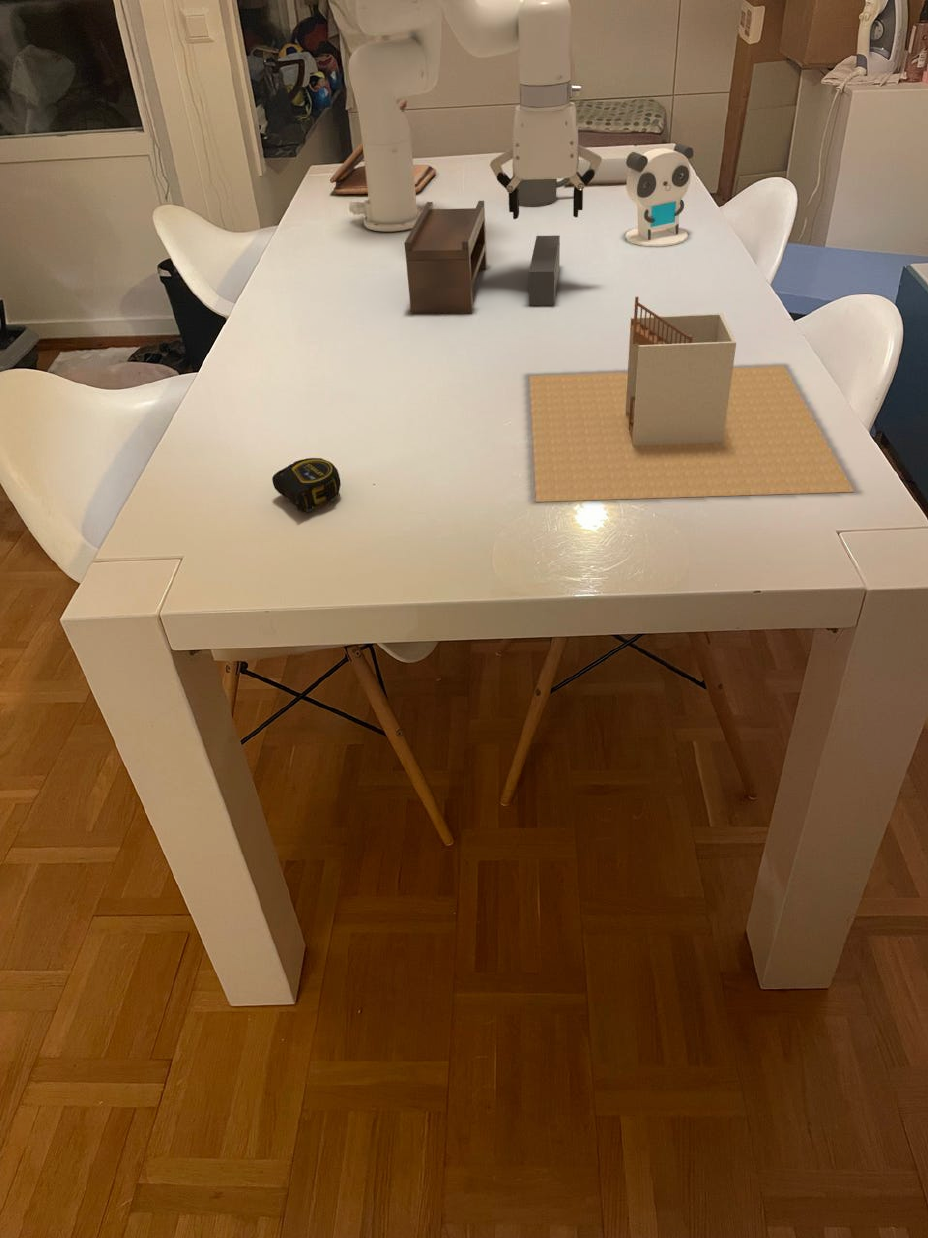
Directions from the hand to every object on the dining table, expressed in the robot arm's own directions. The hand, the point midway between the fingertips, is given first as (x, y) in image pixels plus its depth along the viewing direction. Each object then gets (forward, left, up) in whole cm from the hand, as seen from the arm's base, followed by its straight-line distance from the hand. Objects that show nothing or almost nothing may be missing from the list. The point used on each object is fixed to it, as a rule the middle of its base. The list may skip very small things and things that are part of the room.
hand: (545, 215), depth 149 cm
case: (-41, +67, -12) cm, 80 cm away
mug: (-3, +51, -12) cm, 53 cm away
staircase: (+19, -50, -12) cm, 54 cm away
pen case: (0, 0, -11) cm, 11 cm away
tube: (+13, +63, -12) cm, 66 cm away
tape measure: (-23, -69, -12) cm, 74 cm away
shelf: (-16, -1, -11) cm, 20 cm away
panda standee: (+19, +25, -12) cm, 33 cm away
